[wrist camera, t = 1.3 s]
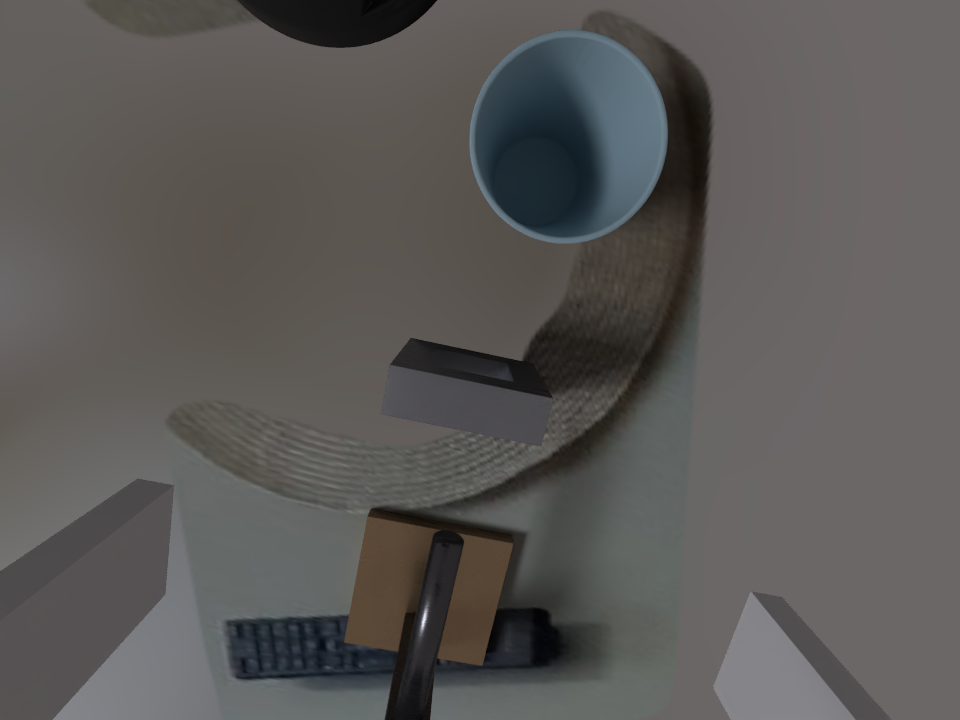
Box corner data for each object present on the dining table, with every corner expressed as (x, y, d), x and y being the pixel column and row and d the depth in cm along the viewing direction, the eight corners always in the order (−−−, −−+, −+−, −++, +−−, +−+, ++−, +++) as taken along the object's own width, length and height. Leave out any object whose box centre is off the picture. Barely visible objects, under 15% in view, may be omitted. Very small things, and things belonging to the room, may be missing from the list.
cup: (571, 90, 27) (630, -9, 17) (616, 217, 29) (695, 195, 19) (450, 146, 28) (438, 82, 18) (501, 268, 29) (517, 273, 19)
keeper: (381, 452, 32) (338, 544, 21) (526, 480, 32) (551, 583, 22) (347, 631, 34) (295, 789, 24) (481, 654, 35) (486, 817, 25)
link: (410, 338, 30) (389, 364, 22) (532, 363, 31) (553, 398, 23) (403, 375, 31) (380, 414, 23) (523, 399, 31) (541, 446, 23)
